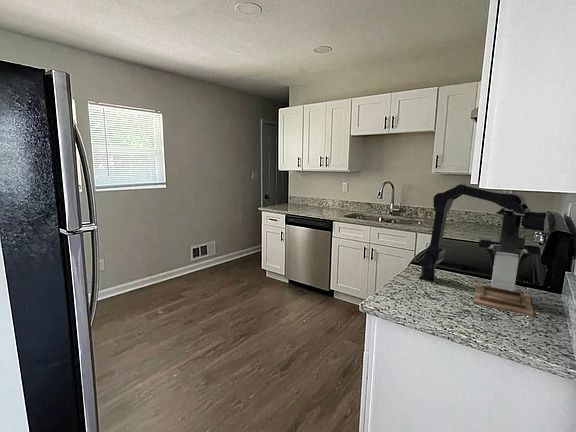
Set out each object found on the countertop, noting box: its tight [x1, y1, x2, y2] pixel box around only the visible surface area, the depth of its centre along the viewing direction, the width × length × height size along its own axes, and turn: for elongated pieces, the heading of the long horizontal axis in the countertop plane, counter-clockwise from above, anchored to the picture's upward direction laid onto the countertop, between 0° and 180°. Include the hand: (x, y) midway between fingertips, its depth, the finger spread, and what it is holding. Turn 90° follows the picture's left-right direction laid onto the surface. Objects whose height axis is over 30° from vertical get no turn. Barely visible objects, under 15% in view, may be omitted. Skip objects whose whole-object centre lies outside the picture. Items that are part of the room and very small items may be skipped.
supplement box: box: [490, 251, 520, 291], centre depth 119 cm, size 7×7×13 cm
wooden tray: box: [472, 284, 534, 317], centre depth 120 cm, size 20×18×2 cm
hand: (505, 267), depth 119 cm, fingers closed on supplement box, 7 cm apart
